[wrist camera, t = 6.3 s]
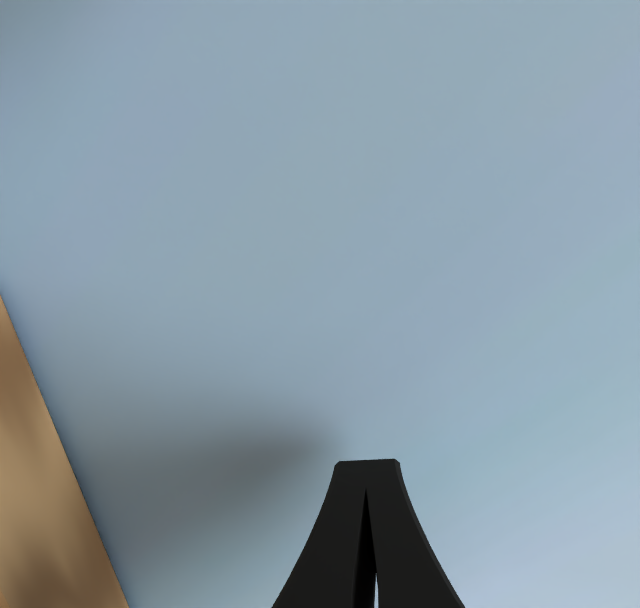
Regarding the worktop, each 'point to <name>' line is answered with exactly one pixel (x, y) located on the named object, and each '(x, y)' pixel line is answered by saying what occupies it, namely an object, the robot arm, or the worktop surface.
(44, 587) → the hinged leg
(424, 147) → the worktop surface
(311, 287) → the worktop surface
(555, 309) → the worktop surface
